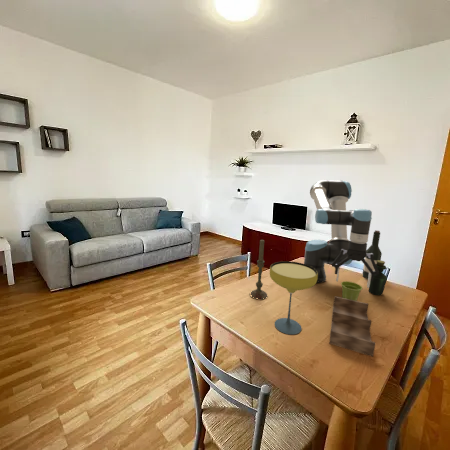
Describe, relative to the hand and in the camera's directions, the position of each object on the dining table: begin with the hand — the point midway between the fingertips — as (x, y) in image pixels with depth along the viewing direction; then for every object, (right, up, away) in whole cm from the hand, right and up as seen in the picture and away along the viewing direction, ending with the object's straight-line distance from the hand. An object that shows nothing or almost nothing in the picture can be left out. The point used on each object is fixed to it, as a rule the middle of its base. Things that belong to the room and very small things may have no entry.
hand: (352, 283), depth 119 cm
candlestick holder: (-45, -8, +5) cm, 46 cm away
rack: (-11, -14, -19) cm, 26 cm away
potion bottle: (+19, -8, +13) cm, 25 cm away
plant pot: (0, -10, +2) cm, 10 cm away
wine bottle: (+29, -4, +33) cm, 44 cm away
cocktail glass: (-37, -13, -19) cm, 44 cm away
